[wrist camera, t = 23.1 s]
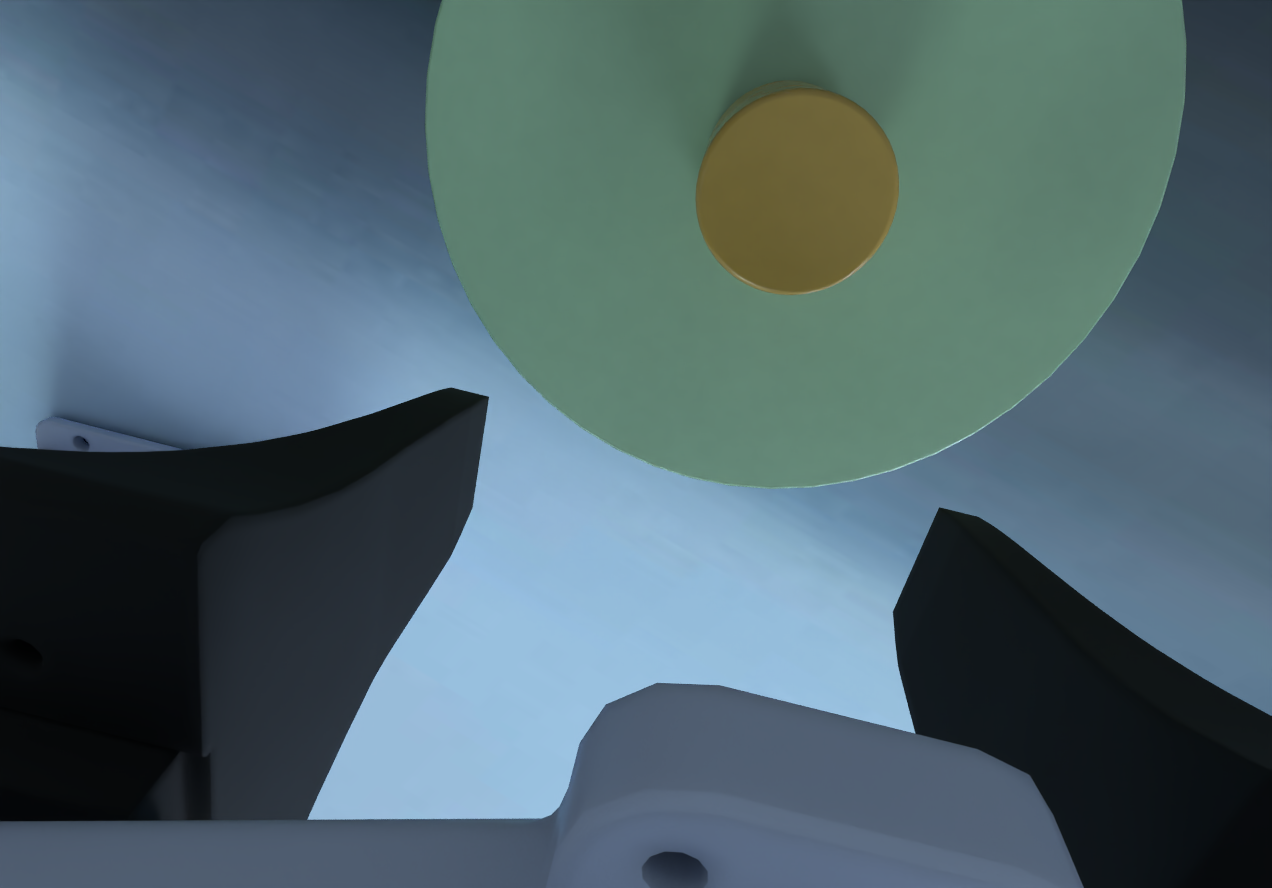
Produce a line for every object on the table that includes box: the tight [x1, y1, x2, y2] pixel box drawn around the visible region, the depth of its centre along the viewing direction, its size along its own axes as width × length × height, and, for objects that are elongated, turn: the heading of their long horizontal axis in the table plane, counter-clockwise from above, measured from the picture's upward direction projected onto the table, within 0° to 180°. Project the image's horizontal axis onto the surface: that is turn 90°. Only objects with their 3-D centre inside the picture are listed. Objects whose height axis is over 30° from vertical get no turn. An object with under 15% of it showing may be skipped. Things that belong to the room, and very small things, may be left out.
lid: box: [425, 0, 1186, 489], centre depth 13 cm, size 12×12×5 cm
